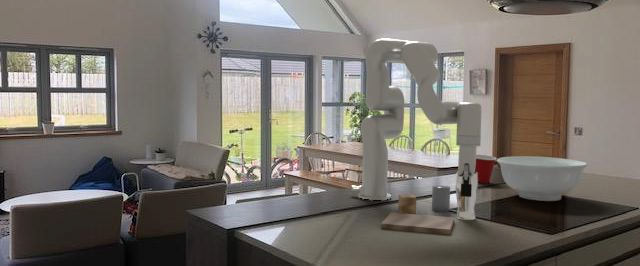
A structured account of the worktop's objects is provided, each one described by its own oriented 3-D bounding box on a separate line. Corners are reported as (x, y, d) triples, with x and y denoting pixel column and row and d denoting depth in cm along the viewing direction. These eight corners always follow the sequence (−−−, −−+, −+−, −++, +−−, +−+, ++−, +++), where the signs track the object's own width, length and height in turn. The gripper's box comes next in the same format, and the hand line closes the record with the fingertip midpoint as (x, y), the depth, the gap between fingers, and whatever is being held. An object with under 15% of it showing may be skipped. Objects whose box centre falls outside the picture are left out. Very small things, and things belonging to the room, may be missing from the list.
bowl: (498, 187, 240) (500, 153, 239) (582, 193, 228) (584, 158, 227) (492, 201, 210) (494, 162, 209) (588, 209, 198) (590, 168, 197)
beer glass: (477, 221, 178) (479, 174, 177) (454, 220, 179) (456, 173, 178) (475, 216, 185) (477, 171, 184) (454, 215, 186) (455, 170, 185)
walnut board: (381, 228, 167) (381, 223, 167) (391, 216, 182) (391, 212, 182) (449, 234, 161) (449, 229, 161) (454, 222, 176) (454, 217, 176)
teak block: (400, 215, 185) (401, 197, 185) (398, 211, 190) (398, 194, 190) (415, 215, 186) (416, 197, 185) (412, 212, 190) (413, 194, 190)
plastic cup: (488, 185, 245) (489, 158, 244) (466, 182, 252) (467, 155, 251) (500, 182, 252) (501, 156, 251) (477, 179, 260) (478, 153, 259)
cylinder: (430, 210, 192) (431, 187, 192) (432, 207, 198) (433, 184, 197) (448, 212, 191) (449, 189, 190) (450, 208, 196) (450, 186, 196)
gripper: (458, 138, 189) (457, 188, 191) (454, 142, 173) (452, 197, 174) (481, 139, 187) (480, 190, 188) (479, 143, 171) (477, 199, 172)
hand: (467, 193), depth 181 cm, fingers open, 9 cm apart
